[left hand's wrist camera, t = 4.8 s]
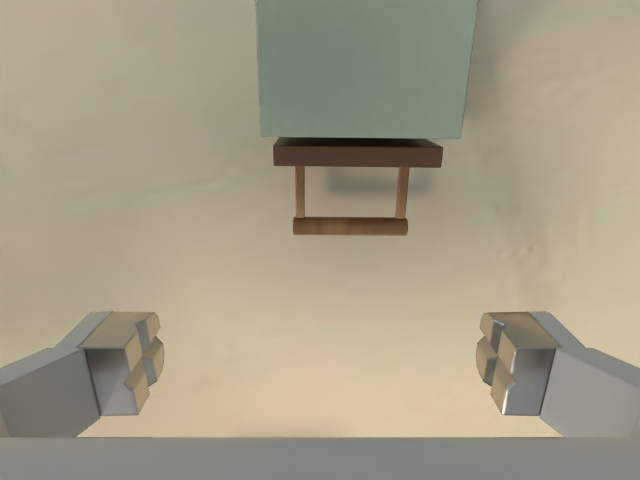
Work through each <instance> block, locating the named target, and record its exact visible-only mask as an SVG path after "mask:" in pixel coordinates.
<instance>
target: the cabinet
mask: <svg viewBox="0 0 640 480" xmlns="http://www.w3.org/2000/svg"><path fill="white" fill-rule="evenodd" d="M255 7H256V34H257V61H258V87H259V114H260V136H261V137H332V138H419V139H460V138H461V131H462V124H463V116H464V108H465V100H466V93H467V85H468V77H469V70H470V62H471V54H472V46H473V39H474V31H475V23H476V15H477V8H478V0H255Z"/></svg>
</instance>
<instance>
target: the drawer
mask: <svg viewBox="0 0 640 480" xmlns="http://www.w3.org/2000/svg"><path fill="white" fill-rule="evenodd" d="M442 154H443V147H441V146H439V145H436V144H434V143H432V142H430V141H428V140H426V139H419V138H332V137H279V139H278V140H277V142H276V143H275V144H274V146H273V155H274V166H296V217H294V218H293V234H294V235H381V236H405V235H407V232H408V221H407V218H405V212H406V200H407V189H408V178H409V167H433V168H440V167H441V163H442ZM305 166H338V167H399V176H398V189H397V201H396V214H395V217H396V218H393V217H305Z"/></svg>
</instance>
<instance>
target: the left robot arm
mask: <svg viewBox="0 0 640 480" xmlns="http://www.w3.org/2000/svg"><path fill="white" fill-rule="evenodd" d="M159 329H160V324H159V319H158V316H157V315H156V314H155V312H113V311H100V312H91V313H90V314H88V315H87V316H86V317H85V318H84V319H83V320H82V321H81V322H80V323H79V324H78V325H77V326H76V327H75V328H74V329H73V330H72V331H71V332H70V333H69V334H68V335H67V336H66V337H65V338H64V339H63V340H62V341H61V342H60V343H59V344H58V345H56V346H55V347H54V348H46V349H44V350H42V351H39V352H37V353H35V354H32V355H30V356H28V357H25V358H23V359H21V360H18V361H16V362H14V363H11V364H9V365H7V366H4V367H2V368H0V480H640V368H638V367H636V366H633V365H631V364H629V363H626V362H624V361H622V360H619V359H617V358H615V357H612V356H610V355H608V354H605V353H603V352H601V351H598V350H596V349H594V348H586V347H585V346H584V345H583V344H582V343H580V342H579V341H578V340H577V339H576V338H575V337H574V336H573V335H572V334H571V333H570V332H569V331H568V330H567V329H566V328H565V327H564V326H563V325H562V324H561V323H560V322H559V321H558V320H557V319H556V318H555V317H554V316H553V315H552V314H551V313H549V312H546V311H535V312H495V313H484V314H483V316H482V318H481V323H480V329H481V331H482V332H483V334H484V335H485V336H484V337H483V338H482V339H481V340H480V341H479V342H478V343H477V350H476V362H477V368H478V371H479V374H480V376H481V378H482V380H483V381H484V382H485V383H487V384H488V385H490V386H491V387H492V388H491V396H492V398H493V400H494V402H495V403H496V405H497V407H498V409H499V410H500V412H501V414H502V415H516V416H540V418H541V419H542V420H543V421H544V422H546V423H547V424H548V425H550V426H551V427H552V428H554V429H555V430H556V431H557V432H559V433H560V434H561V435H563V436H564V437H76V436H78V435H79V434H80V433H81V432H83V431H84V430H85V429H87V428H88V427H89V426H91V425H92V424H93V423H94V422H96V421H97V420H98V419H100V416H123V415H138V414H139V412H140V410H141V409H142V407H143V405H144V403H145V402H146V400H147V398H148V396H149V388H148V387H149V386H150V385H152V384H153V383H155V382H156V381H157V380H158V378H159V376H160V374H161V371H162V367H163V363H164V349H163V343H162V342H161V341H160V340H159V339H158V338H157V337H156V336H155V335H156V334H157V332H158V331H159Z"/></svg>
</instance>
